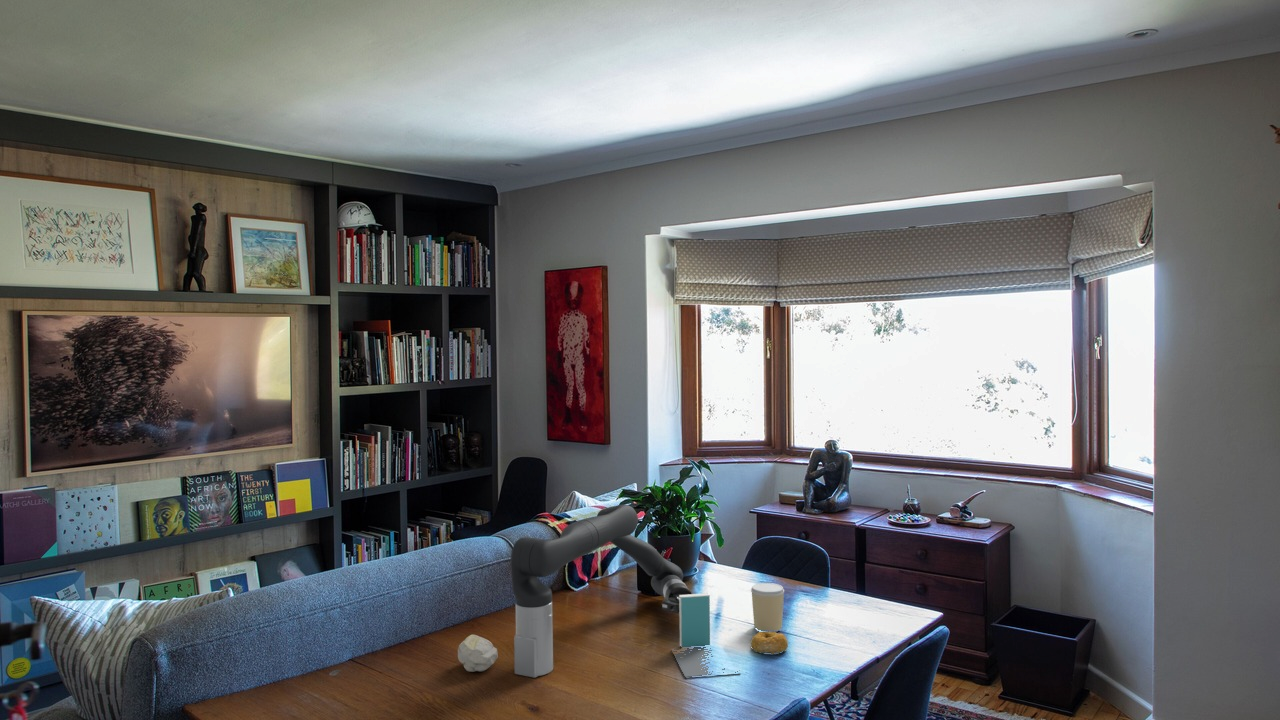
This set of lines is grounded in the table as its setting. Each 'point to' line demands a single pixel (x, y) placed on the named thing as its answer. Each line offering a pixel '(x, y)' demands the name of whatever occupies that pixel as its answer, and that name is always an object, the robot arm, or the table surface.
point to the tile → (694, 619)
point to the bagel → (769, 642)
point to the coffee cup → (767, 606)
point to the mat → (693, 661)
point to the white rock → (476, 653)
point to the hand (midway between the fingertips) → (689, 613)
